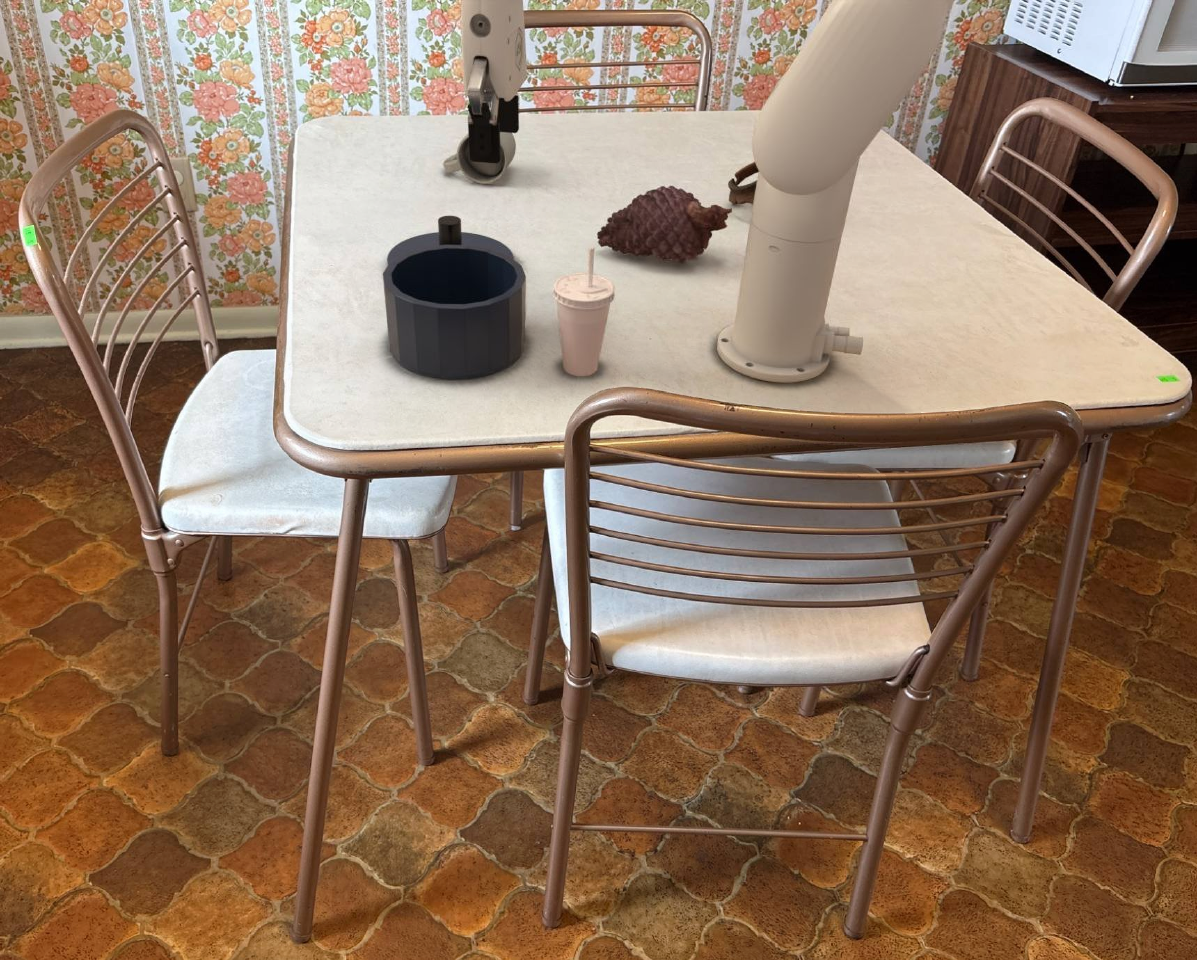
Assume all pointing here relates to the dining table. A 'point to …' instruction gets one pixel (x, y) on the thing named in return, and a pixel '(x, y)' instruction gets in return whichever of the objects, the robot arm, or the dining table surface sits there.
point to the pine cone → (663, 225)
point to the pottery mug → (746, 191)
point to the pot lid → (447, 239)
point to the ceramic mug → (480, 170)
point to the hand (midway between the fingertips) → (495, 146)
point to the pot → (455, 311)
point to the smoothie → (582, 317)
